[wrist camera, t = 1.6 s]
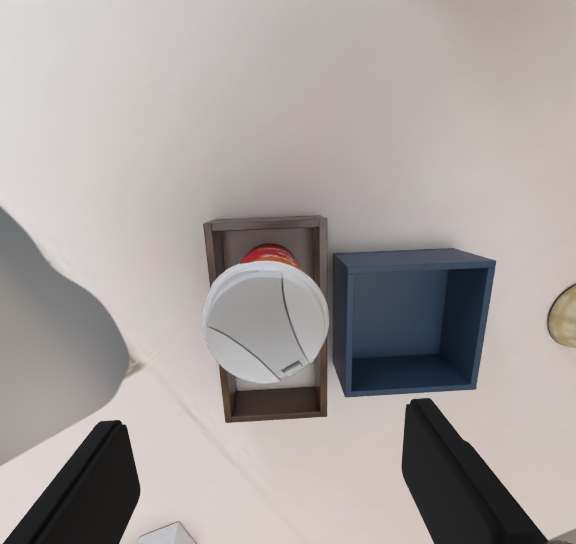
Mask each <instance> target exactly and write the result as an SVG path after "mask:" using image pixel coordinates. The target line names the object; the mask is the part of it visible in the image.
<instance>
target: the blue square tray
mask: <svg viewBox="0 0 576 544" xmlns="http://www.w3.org/2000/svg"><path fill="white" fill-rule="evenodd" d="M495 266H496V261H495V260H492V259H488V258H485V257H481V256H478V255H474V254H471V253H468V252H464V251H461V250H457V249H454V248H448V249H425V250H402V251H379V252H356V253H334V254H333V364H334V367H335V370H336V373H337V375H338V378H339V381H340V384H341V387H342V390H343V393H344V395H345V397H359V396H375V395H391V394H408V393H424V392H440V391H457V390H473V389H476V385H477V378H478V372H479V366H480V359H481V353H482V347H483V341H484V334H485V328H486V322H487V316H488V309H489V303H490V297H491V291H492V284H493V278H494V272H495V268H494V267H495Z"/></svg>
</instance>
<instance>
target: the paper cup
mask: <svg viewBox="0 0 576 544" xmlns="http://www.w3.org/2000/svg"><path fill="white" fill-rule="evenodd" d="M202 327H203V332H204V336H205V339H206V341H207V344H208V347H209V349H210V351H211V353H212V355H213V356H214V358H215V359H216V361H217V362H218V363H219V364H220V365H221V366H222V367H223V368H224V369H225V370H227V371H228V372H229V373H231V374H232V375H234V376H236V377H238V378H240V379H243V380H246V381H250V382H254V383H275V382H280V381H281V379H282V378H284V377H286V376H287V377H290V376H291V375H293V374H295V373H297V372H298V371H300V370H302V369H303V368H304V366H306V365H307V364H308V363H309V362H310V363H312V362H313V360H314V359H315V358H316V356H317V355H318V353H319V351H320V349H321V347H322V345H323V344H324V341H325V339H326V336H327V333H328V328H329V312H328V306H327V303H326V300H325V297H324V295H323V293H322V292H321V290H320V288H319V287H318V286H317V284H316V283H315V282H314V281H313V280H312V279H311V278H310V277H309V276H308V275H307V274H305V273H304V272H303V270H302V269H301V267H300V266H299V264H298V263H297V261H296V260H295V258H294V257H293V255H292V254H291V253H290V252H289V251H288V250H287V249H285V248H284V247H282V246H279V245H276V244H264V245H260V246H258V247H256V248H254V249H253V250H252V251H250V252H249V253H248V254H247V255H246V256H245V258H244V259H243V260H242V261H241V262H240V263H239V264H236V265H234V266H233V267H231V268H229V269H227V270H226V271H225V272H223V273H222V274H221V275H219V277H218V278H217V279H216V280H215V281H214V282H213V283H212V286H211V288H210V291H209V293H208V296H207V298H206V300H205V303H204V307H203V311H202Z"/></svg>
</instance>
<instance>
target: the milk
mask: <svg viewBox="0 0 576 544" xmlns="http://www.w3.org/2000/svg"><path fill="white" fill-rule="evenodd" d="M138 544H196V543H195V542H194V541H193V539H192V538H191V537H190V536H189V534H188V533H187V532H186V530H185V529H184V528H183V527H182V525H181V524H180V523H179V522H177V523H174V524H172V525H169V526H167V527H164V528H161V529H159V530H156V531H154V532H151V533H149V534H146V535H143V536H141V537H140V539H139V541H138Z"/></svg>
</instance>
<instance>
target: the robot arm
mask: <svg viewBox="0 0 576 544" xmlns="http://www.w3.org/2000/svg"><path fill="white" fill-rule="evenodd" d="M402 473H403V477H404V479H405V482H406V484H407V486H408V488H409V490H410V492H411V495H412V497H413V499H414V501H415V503H416V505H417V508H418V510H419V512H420V514H421V516H422V518H423V520H424V523H425V525H426V527H427V529H428V531H429V533H430V535H431V538H432V540H433V542H434V544H572V543H569V542H566V541H559V540H554V541H548V540H547V539H546V538H545V536H544V535H543V534H542V533H541V531H540V530H539V529H538V528H537V526H536V525H535V524H534V523H533V521H532V520H531V519H530V518H529V516H528V515H527V514H526V513H525V511H524V510H523V509H522V508H521V506H520V505H519V504H518V503H517V501H516V500H515V499H514V498H513V496H512V495H511V494H510V493H509V491H508V490H507V489H506V488H505V486H504V485H503V484H502V483H501V481H500V480H499V479H498V478H497V476H496V475H495V474H494V473H493V471H492V470H491V469H490V468H489V466H488V465H487V464H486V463H485V462H484V460H483V459H482V458H481V457H480V455H479V454H478V453H477V452H476V450H475V449H474V448H473V447H472V446H471V445H470V444H469V443H468V442H466V441H465V440H463V439H462V438H461V437H460V435H459V434H458V433H457V432H456V430H455V429H454V428H453V426H452V425H451V424H450V423H449V421H448V420H447V419H446V418H445V416H444V415H443V414H442V412H441V411H440V410H439V409H438V407H437V406H436V405H435V404H434V402H433V401H432V400H431V399H429V398H423V399H412V400H411V402H410V404H407V405H406V413H405V426H404V440H403V454H402ZM139 496H140V484H139V479H138V475H137V470H136V466H135V461H134V457H133V452H132V448H131V443H130V439H129V435H128V430H127V427H126V425H122V422H121V421H120V420H114V421H101V422H99V423H98V424H97V425H96V426H95V427H94V428H93V430H92V431H91V432H90V433H89V435H88V436H87V437H86V439H85V440H84V441H83V442H82V444H81V445H80V446H79V447H78V449H77V450H76V451H75V453H74V454H73V455H72V456H71V458H70V459H69V460H68V461H67V463H66V464H65V465H64V467H63V468H62V469H61V470H60V472H59V473H58V474H57V475H56V477H55V478H54V479H53V481H52V482H51V483H50V484H49V486H48V487H47V488H46V489H45V491H44V492H43V493H42V495H41V496H40V497H39V498H38V500H37V501H36V502H35V503H34V505H33V506H32V507H31V509H30V510H29V511H28V512H27V514H26V515H25V516H24V517H23V519H22V520H21V521H20V522H19V524H18V525H17V526H16V528H15V529H14V530H13V531H12V533H11V534H10V535H9V536H8V538H7V539H6V540H5V542H4V543H3V544H119V542H120V540H121V538H122V536H123V534H124V531H125V529H126V527H127V525H128V522H129V520H130V518H131V516H132V514H133V511H134V509H135V507H136V505H137V502H138V500H139Z"/></svg>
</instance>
